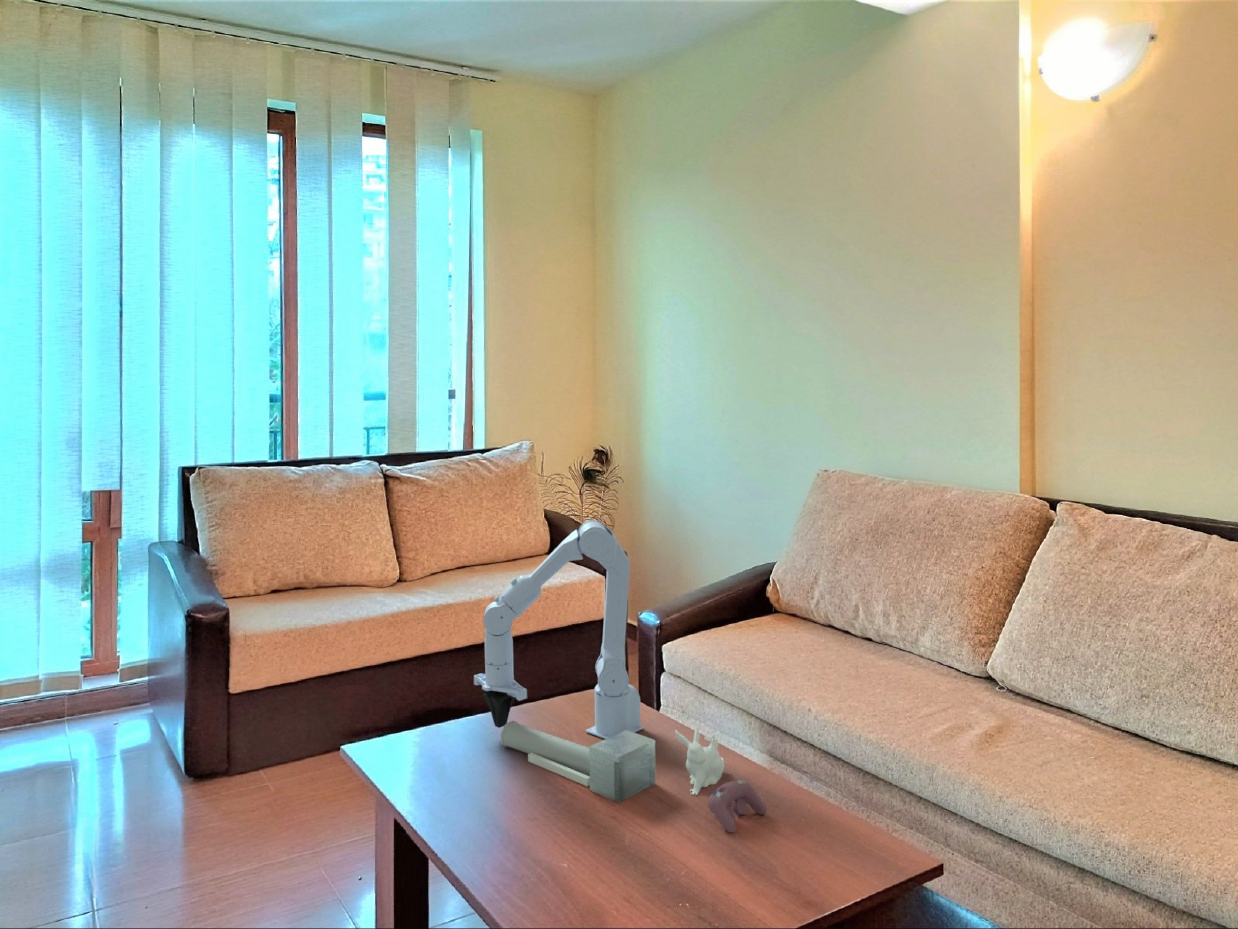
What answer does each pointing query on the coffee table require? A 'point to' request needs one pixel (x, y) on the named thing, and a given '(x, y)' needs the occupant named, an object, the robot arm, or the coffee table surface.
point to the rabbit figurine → (702, 761)
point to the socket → (622, 765)
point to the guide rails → (559, 769)
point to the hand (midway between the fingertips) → (500, 725)
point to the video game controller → (734, 802)
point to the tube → (546, 746)
